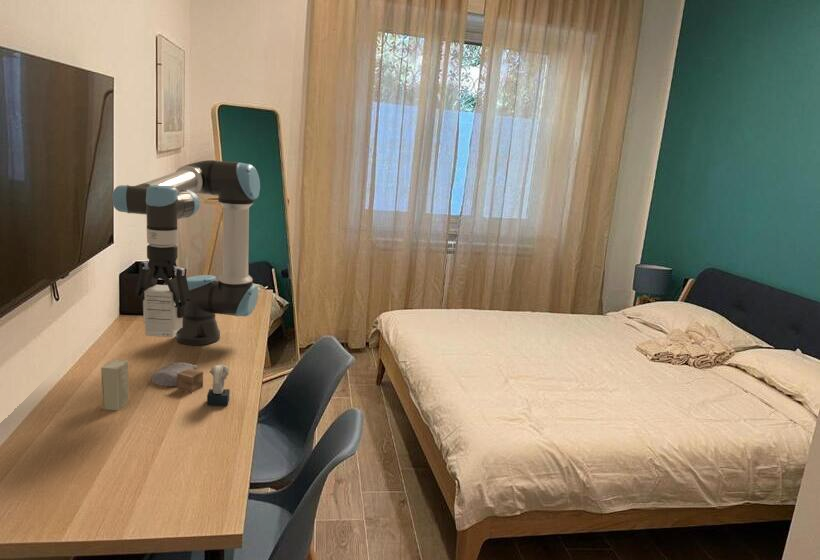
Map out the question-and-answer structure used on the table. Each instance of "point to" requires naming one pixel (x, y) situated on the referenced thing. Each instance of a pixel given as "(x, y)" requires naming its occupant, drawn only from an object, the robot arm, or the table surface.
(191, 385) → the walnut cube
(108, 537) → the table surface
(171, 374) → the stone block
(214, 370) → the watch
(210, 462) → the table surface
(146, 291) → the supplement box
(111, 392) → the skincare box
